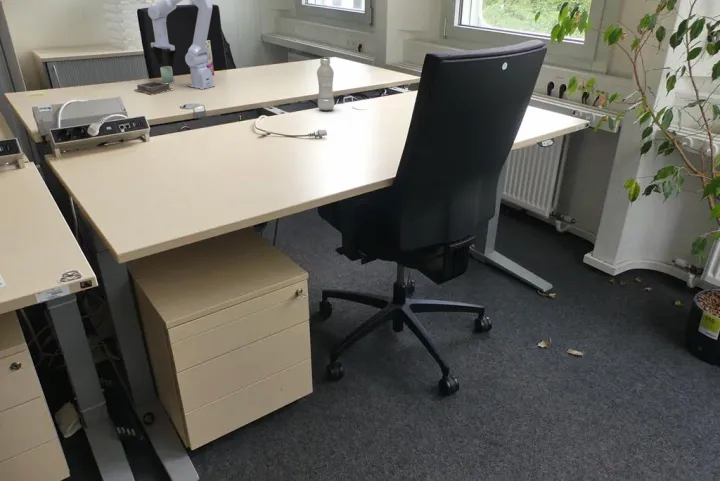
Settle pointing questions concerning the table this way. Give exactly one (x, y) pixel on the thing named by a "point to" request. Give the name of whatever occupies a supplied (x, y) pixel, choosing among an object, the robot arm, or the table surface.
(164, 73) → the roll
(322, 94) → the plastic bottle
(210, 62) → the candy bar box
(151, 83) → the holder
